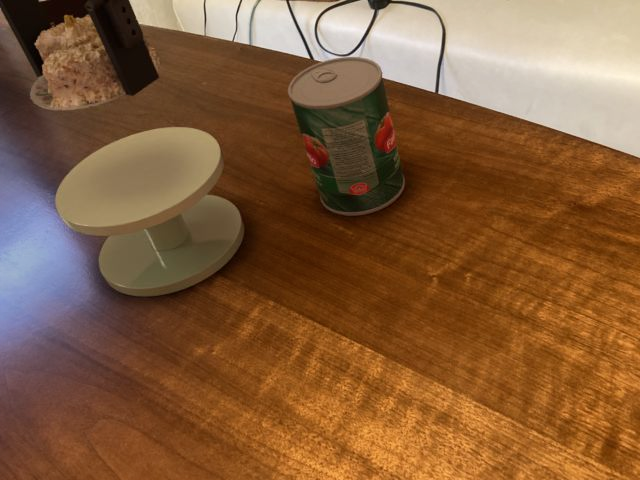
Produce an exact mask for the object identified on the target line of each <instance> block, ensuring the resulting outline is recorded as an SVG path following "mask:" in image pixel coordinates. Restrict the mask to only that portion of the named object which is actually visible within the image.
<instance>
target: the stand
mask: <svg viewBox="0 0 640 480" xmlns="http://www.w3.org/2000/svg"><path fill="white" fill-rule="evenodd" d="M224 167H225V158H224V153H223V151H222V149H221V145H219V142H218V140H217V139H216V138H214V136H212V135H211V134H210V133H208V132H207V131H203V130H202V129H197V128H193V127H188V126H187V127H186V126H169V127H168V126H167V127H159V128H154V129H148V130H144V131H141V132H137V133H134V134H130V135H129V136H128V135H127V136H125V137H123V138H120V139H118V140H115V141H112V142H111V143H108V144H107V145H104V146H103V147H100V148H99V149H97V150H96V151H94V152H92V153H91V154H89V155H88V156H86V157H85V158H84V159H82V160H80V161H79V162H78V163H77V164H76V165H75V166H74V167H73V168H72V169H70V171H69V172H68V173H67V174H66V175H65V176H64V178H63V179H62V180H61V182H60V184H59V186H58V188H57V190H56V193H55V198H54V204H55V209H56V210H57V211H56V212H57V213H58V215H59V217H60V218H61V220H62V221H63V222H64V223H65V225H66V226H67V227H68V228H70V229H71V230H72V231H76V232H78V233H80V234H84V235H88V236H95V237H107V238H106V239H105V241H104V243H103V244H102V246H101V249H100V251H99V255H98V268H99V271H100V273H101V275H102V276H103V279H104V280H105V282H106V283H107V284H108V285H109V286H110V287H111V288H112V289H114V290H115V291H117V292H119V293H121V294H124V295H127V296H132V297H133V296H134V297H142V298H143V297H145V298H146V297H157V296H164V295H169V294H172V293H176V292H179V291H182V290H185V289H187V288H190V287H192V286H195V285H197V284H199V283H201V282H203V281H204V280H206V279H208V278H209V277H211V276H212V275H214V274H215V273H216V272H218V271H220V270H221V269H222V268H223V267H224V266H225V265H226V264H228V262H229V261H230V260H231V259H232V258H233V257H234V256H235V255H236V253H237V252H238V250H239V248H240V246H241V244H242V242H243V240H244V235H245V224H244V220H243V218H242V215H241V213H240V210H239V209H238V207H236V205H235V204H234V203H233V202H231V201H230V200H228V199H226V198H224V197H221V196H219V195H213V194H209V193H210V192H211V191H212V189H214V187H215V186H216V184H217V183H218V181H219V179H220V178H221V175H222V173H223V171H224Z"/></svg>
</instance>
